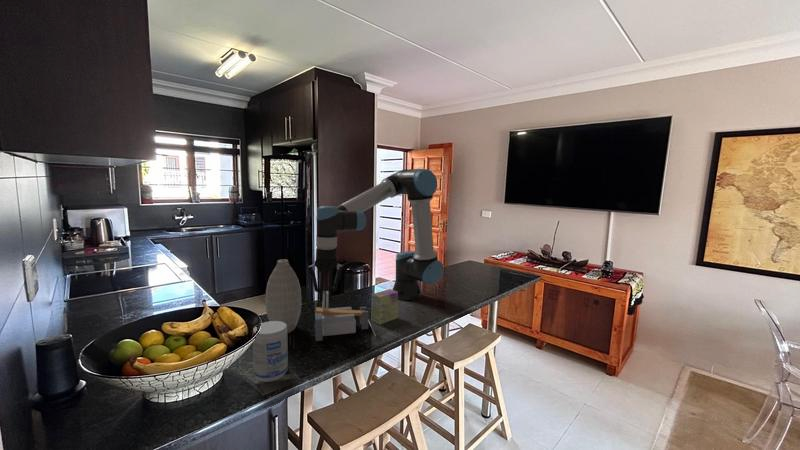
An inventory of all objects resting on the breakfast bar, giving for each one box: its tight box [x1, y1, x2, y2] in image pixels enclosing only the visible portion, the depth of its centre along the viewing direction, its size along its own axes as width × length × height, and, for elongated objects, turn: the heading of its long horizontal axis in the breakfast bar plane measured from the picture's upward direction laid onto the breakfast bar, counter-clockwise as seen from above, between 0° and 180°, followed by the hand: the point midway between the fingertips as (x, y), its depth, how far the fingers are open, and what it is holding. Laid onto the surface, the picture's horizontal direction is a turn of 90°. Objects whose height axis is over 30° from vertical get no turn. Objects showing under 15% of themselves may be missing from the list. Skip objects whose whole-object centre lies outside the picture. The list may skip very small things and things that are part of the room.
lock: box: [314, 312, 324, 342], centre depth 118 cm, size 2×6×8 cm, turn 16°
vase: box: [265, 258, 302, 334], centre depth 123 cm, size 13×13×28 cm
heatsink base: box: [322, 306, 377, 338], centre depth 126 cm, size 24×18×8 cm
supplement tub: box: [252, 320, 289, 383], centre depth 96 cm, size 10×10×15 cm
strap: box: [315, 306, 365, 317], centre depth 126 cm, size 19×4×2 cm, turn 106°
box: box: [370, 288, 399, 325], centre depth 138 cm, size 10×6×12 cm, turn 134°
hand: (325, 308), depth 124 cm, fingers closed
